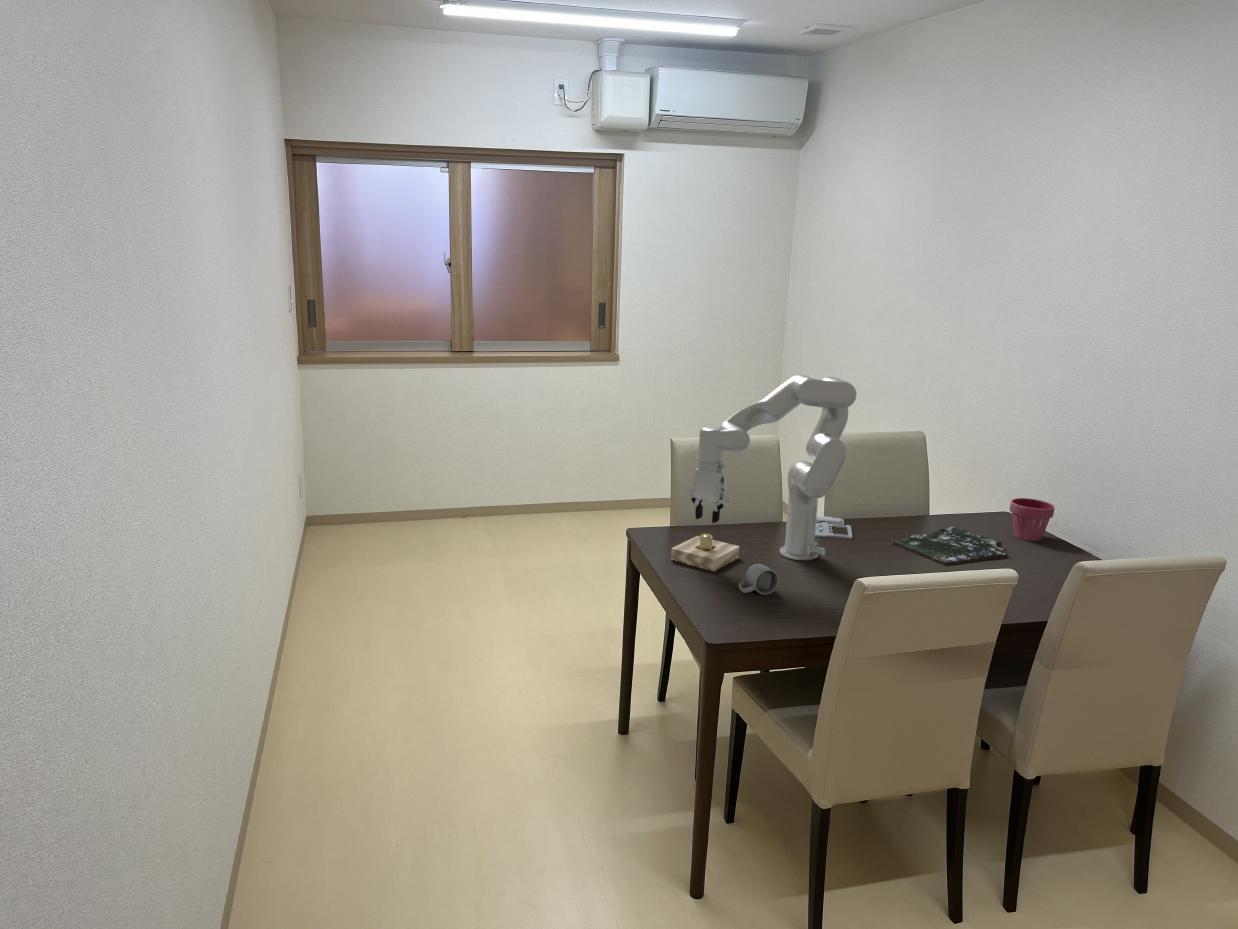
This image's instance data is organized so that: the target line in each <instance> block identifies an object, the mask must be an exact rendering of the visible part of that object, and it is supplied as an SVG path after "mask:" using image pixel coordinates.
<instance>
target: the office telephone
mask: <svg viewBox="0 0 1238 929" xmlns="http://www.w3.org/2000/svg"><path fill="white" fill-rule="evenodd" d="M821 521H825V522H822V523H816V529H815V538H820V537H821V538H822V539H823V538H824V539H825V538H826V539H827V538H833V539H845V540H853V532H852V526H851V525H849V524H845V520H844V519H842V517H837V516H836V517H835V516H822V515H817V518H816V522H821ZM828 523H829V524H828ZM834 527H835V528H836V529H846V530H847V534H844V533H843V534H841V533H833V528H834Z"/></svg>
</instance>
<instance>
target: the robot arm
mask: <svg viewBox="0 0 1238 929" xmlns="http://www.w3.org/2000/svg"><path fill="white" fill-rule="evenodd" d="M856 400H857V389H856V388H855V386H854V385H853V384H852V383H851V382H848V381H845V380H843V379H840V378H839V377H838V378H837V377H834V376H825V377H822V378H821V379H817V378H813V377H810V376H807V375H804V374H794V375H793V376H791V377H789V378H788V379H787V380H786V381H784V382H782V383H781V384H780V385H779V386H778V387H776V389H774V390H773V391H772V392H770V393H769V394H768V395H766V396H764V397H763V398H762V399H760V400H758V401H756V402H754V403H751V404H750V405H748V406H746V407H744V408H742V409H739V410H738V411H736V412H735V413H734V414H733V415H731V416H730V417H729V418H728V419H726V420H725V421H724V422H723V423H722V424H720V426H719V427H718V426H713V425H712V426H710V425H709V426H708V425H707V426H704V427H701V429H700V430H699V438H698V442H699V443H698V460H697V462H698V463H697V468H695V471H694V477H693V484H692V488H691V489H690V490H689V491H688V492H687V496H688V498H689V499H690V500H691V502H692V504H693V506H694V508H695V512H694V513H695V514H694V515H695V519H696V520H699V519H702V518H703V514H704V513H703V512H704V510H703V509H704V505H702V504H703V501H705V502H709V503H712V506H713V511H712V514H711V515H712V516H711V522H712V524H716V523H718V522H719V520H720V518H721V517H720V516H721V513H720V512H721V510H722V509H723V508H724V507H726V506H727V505H729V504H730V503H731V502H730V499H729V498H728V496H727V493H726V491H727V487H726V486H727V482H726V474H725V471H724V470H725V469H726V464H723V454H724V453H723V452H724V451H727V452H735V453H740V452H743V451H745V450H747V448H748V447H750V446H749V445H750V442H751V438H750V436H749V434H748V432H749V431H750V430H751V429H753V428H755V427H758V426H762V425H766V424H772V423H777V422H779V421H780V420H782V419H783V418H784V417H785V416H786V415H788V414H789V413H790V412H792V411H793V410H794V409H795V408H797V407H798V406H800V405H801V404H802V405H805V406H808V407H814V408H821V414H820V417H819V419H818V421H817V423H816V426H815V427H814V429H813V431H812V433H811V435H810V437H809V439H808V440H807V443H806V446H805V451H806V452H805V453H806V454H807V455H808V456H809V457H810V459H812V460H813V462H811V461H808V460H800V461H799V460H798V461H796V462H795V463H793V464H792V465H791V466H790V468H789V470H788V473H787V487H788V488H787V489H788V502H787V514H786V525H785V526H786V528H785V539H784V545H782V546H781V547H780V548H779V554H780V555H781V556H783V557H785V558H787V559H791V560H795V561H811V560H812V561H813V560H815V559H817V558H818V557H819V556H821V557H824V556H825V555H826V550H825V548H824V547H820V546H818V542H817V541H815V539H816V537H815V529H816V518H817V516H818V504H819V500H818V499H821V498H823V497H825V496H826V495H827V494H828V493H829V492H830V490H831V489H832V487H833V485H834V483H835V482H836V480H837V478H838V476H839V475H840V472H841V471H842V468H843V466H844V465H845V462H846V459H847V453H848V452H847V447H846V444H845V443H844V442H843V441H842V440H841V436H843V432H844V430H845V428H846V426H847V423H848V419H849V408H850V407H851V406H852V405H853V404H854V403H855V401H856ZM721 501H722V502H721Z"/></svg>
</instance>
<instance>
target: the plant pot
mask: <svg viewBox="0 0 1238 929" xmlns="http://www.w3.org/2000/svg"><path fill="white" fill-rule="evenodd" d="M1009 512H1010V513H1011V516H1012V517H1011V518H1012V528H1013V536H1014V537H1015V538H1017V539H1020V540H1023V541H1028V542H1038V541H1039V542H1040V541H1041V540H1042V538H1043V536H1044V534H1045V532H1046V530H1047V526H1048V524H1049V522H1050V519H1052V518H1053V517H1054V514H1055V506H1054V505H1053V504H1052V503H1050V502H1048V501H1044V500H1039V499H1036V498H1027V497H1026V498H1025V497H1018V498H1014V499H1011V501H1010V504H1009Z"/></svg>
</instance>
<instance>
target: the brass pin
mask: <svg viewBox="0 0 1238 929" xmlns="http://www.w3.org/2000/svg"><path fill="white" fill-rule="evenodd" d="M699 536H700V549H701V550H705V551H711V550H712V540H714V539H713V537H714V536H713V535H712V534H710V533H702V534H701V533H700V535H699Z"/></svg>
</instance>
